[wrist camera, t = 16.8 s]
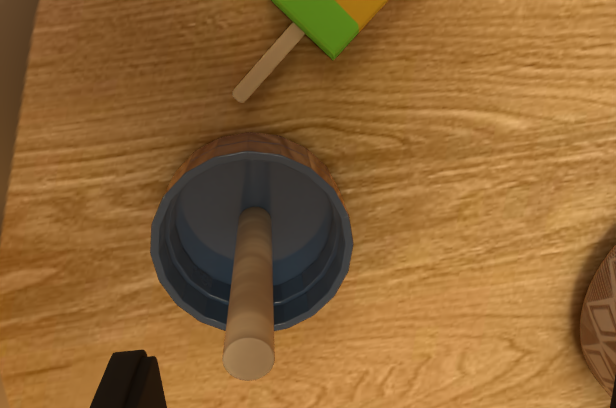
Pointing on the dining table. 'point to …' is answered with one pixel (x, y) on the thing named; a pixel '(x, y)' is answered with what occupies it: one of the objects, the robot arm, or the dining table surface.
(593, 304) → the planter
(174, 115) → the dining table surface
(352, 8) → the popsicle
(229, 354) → the stick
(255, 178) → the bowl
